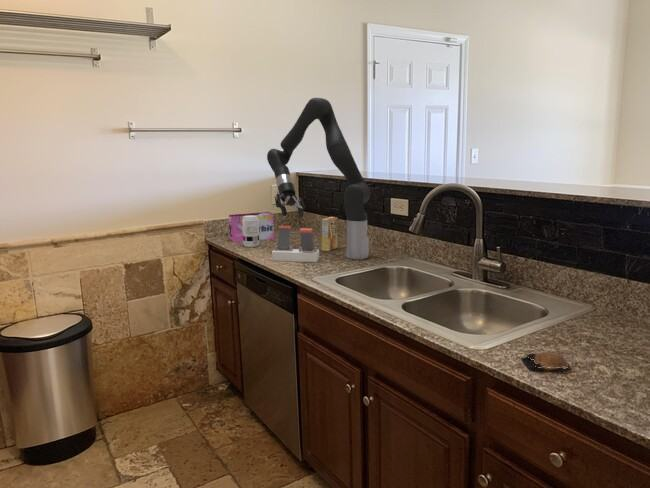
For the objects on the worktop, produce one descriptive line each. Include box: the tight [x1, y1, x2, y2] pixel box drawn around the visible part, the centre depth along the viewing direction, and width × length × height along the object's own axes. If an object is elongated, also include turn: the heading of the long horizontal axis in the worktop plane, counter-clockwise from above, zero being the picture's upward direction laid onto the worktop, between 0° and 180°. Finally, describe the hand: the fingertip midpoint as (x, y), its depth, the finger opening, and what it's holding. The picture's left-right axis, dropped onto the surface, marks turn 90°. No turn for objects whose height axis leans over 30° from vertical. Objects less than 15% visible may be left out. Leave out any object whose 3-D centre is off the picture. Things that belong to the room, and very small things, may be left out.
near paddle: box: [299, 227, 315, 251], centre depth 217 cm, size 5×2×11 cm, turn 82°
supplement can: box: [242, 215, 260, 248], centre depth 248 cm, size 8×8×15 cm
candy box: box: [321, 216, 339, 252], centre depth 240 cm, size 9×4×15 cm, turn 150°
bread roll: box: [520, 352, 576, 374], centre depth 118 cm, size 11×8×4 cm
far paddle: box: [277, 225, 292, 250], centre depth 222 cm, size 5×2×11 cm, turn 82°
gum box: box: [228, 211, 275, 243], centre depth 265 cm, size 24×8×14 cm, turn 117°
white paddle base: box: [271, 245, 320, 263], centre depth 221 cm, size 20×7×6 cm, turn 82°
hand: (293, 216), depth 223 cm, fingers open, 8 cm apart
